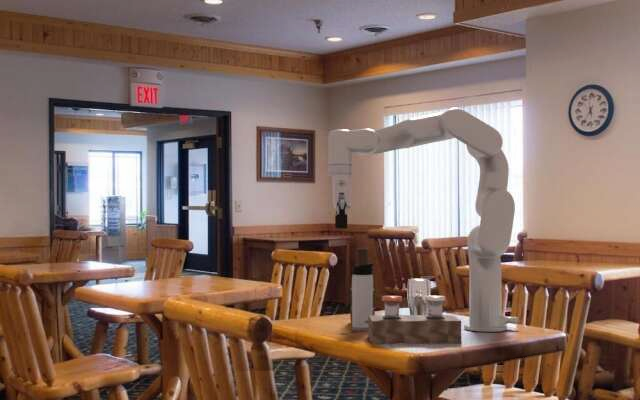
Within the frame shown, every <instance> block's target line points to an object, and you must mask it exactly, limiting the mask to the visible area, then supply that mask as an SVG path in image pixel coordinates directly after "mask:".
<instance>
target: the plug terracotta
mask: <svg viewBox="0 0 640 400" xmlns="http://www.w3.org/2000/svg"><path fill="white" fill-rule="evenodd" d="M381 302H384V315H385V319H399V315H400V303H401V302H403V296H401V295H381Z"/></svg>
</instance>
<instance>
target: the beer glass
mask: <svg viewBox="0 0 640 400" xmlns="http://www.w3.org/2000/svg"><path fill="white" fill-rule="evenodd" d="M430 281H431V280H430V279H429V278H408V279H407V290H406V291H407V293H406V294H407V304H408V309H409V315H428V302H427V301H425V296H431V283H430Z"/></svg>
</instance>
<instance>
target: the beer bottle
mask: <svg viewBox="0 0 640 400" xmlns="http://www.w3.org/2000/svg"><path fill="white" fill-rule="evenodd" d="M368 252H369V249H368V248H367V247H358V248H356V253H357V255H356V266H358V265H366V264H369V256H368ZM375 289H376V288H375V282H374V280H373V315H376V314H375V312H376V311H375V310H376V309H375V297H376V296H375V295H376V294H375ZM349 292H350V296H349V298H350V299H349V302H350V309H349V310H350V311H349V312H350V323H351V324H352V280H351V281H350V291H349Z"/></svg>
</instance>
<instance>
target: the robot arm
mask: <svg viewBox="0 0 640 400" xmlns="http://www.w3.org/2000/svg"><path fill="white" fill-rule="evenodd" d="M327 138H328V139H327V141H328V143H327V144H328V145H327V146H328V147H327V148H328V150H327V151H328V154H327V156H328V160H327V161H328V162H327V163H328V164H327V165H328V173H327V174H328V177H332V200H333V201H332V203H333V207H334V209H335V215H334V216H335V217H334V220H335V223H334V228H335V229H339V230H340V229H343V230H344V229H348V214H347V209H351V208H352V201H351V200H352V197H351V193H352V192H351V191H352V189H351V186H352V185H351V177H354V153H355V154H357V155H358V156H362V157H367V156H373V155H377V154H382V153H387V152H392V151H396V150H402V149H403V150H404V149H409V148H414V147H420V146H424V145H427V144H428V145H429V144H433V143H438V142H443V141H447V140H452V139H456V140H458V141H459V142H461V143H463V144H464V145H465V146H466V149H467V152H468V154H469V155H470V156H471V157H473V158H474V160H475V161H476V162H477V164H478V167H479V181H478V182H479V183H478V188H477V194H476V198H475V199H476V200H475V212H476V213H477V215H478V216H479V217H480V223H479V225H476V226H475V227H473V228H472V229H471V231H470V232H469V234H468V237H467V254H468V266H469V267H468V268H469V269H468V271H469V272H468V273H469V277H468V278H469V279H468V281H469V283H468V287H469V289H468V290H469V291H468V293H469V294H468V295H469V296H468V297H469V299H468V301H469V303H468V306H469V307H468V308H469V311H468V312H469V313H468V315H469V317H468V321H469V322H468V323H465V324H464V325H463V326H464V329H465V330H467V331H472V332H480V333H481V332H483V333H484V332H485V333H497V332H505V331H507V330H508V327H507V325H508V324H518V322H519V317H518V316H506V315H505V314H502V313H503V312H502V309H503V308H502V305H503V304H502V302H503V301H502V300H503V299H502V275H503V274H502V261H501V259H502V258H501V256H503V255H504V254H505V253H506V252H507V251H508V249H509V246H510V243H511V239H512V233H513V225H514V219H515V213H516V212H515V211H516V207H515V206H516V205H515V203H516V202H515V200H514V197H513V195H512V194H511V193H510V191H508V184H509V183H508V182H509V173H510V172H509V171H510V169H509V163H508V159H507V157H506V154H505V152H504V151H503V150H502V147H503V137H502V135H501V133H500V132H499V131H498V130H497V129H496V128H494V127H493V126H491V125H490V124H488V123H486V122H485V121H483V120H481V119H480V118H477V117H476V116H474V115H473V114H471V113H469V112H468V111H466V110H464V109H462V108H459V107H451V108H449V109H447V110H445V111H442V112H437V113H432V114H428V115H427V114H426V115H421V116H417V117H411V118H408V119H405V120H402V121H400V122H397V123H395V124H392V125H389V126H386V127H383V128H376V129H372V128H361V129H353V130H352V129H351V130H349V129H334V130H331V131H329V133H328V137H327Z"/></svg>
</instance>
